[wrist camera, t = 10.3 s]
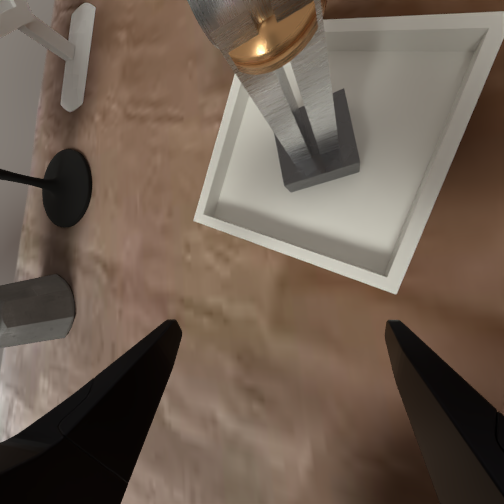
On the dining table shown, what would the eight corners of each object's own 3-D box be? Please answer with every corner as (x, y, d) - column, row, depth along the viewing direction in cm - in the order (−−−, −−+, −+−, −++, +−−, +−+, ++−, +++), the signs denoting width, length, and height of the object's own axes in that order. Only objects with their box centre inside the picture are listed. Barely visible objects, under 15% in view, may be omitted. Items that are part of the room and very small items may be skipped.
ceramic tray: (491, 45, 14) (515, 10, 12) (390, 289, 16) (396, 294, 14) (259, 46, 20) (249, 23, 18) (207, 223, 22) (193, 220, 20)
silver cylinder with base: (359, 172, 16) (382, -93, 4) (290, 192, 18) (156, 61, 6) (344, 106, 17) (322, -332, 4) (279, 132, 19) (130, -112, 6)
